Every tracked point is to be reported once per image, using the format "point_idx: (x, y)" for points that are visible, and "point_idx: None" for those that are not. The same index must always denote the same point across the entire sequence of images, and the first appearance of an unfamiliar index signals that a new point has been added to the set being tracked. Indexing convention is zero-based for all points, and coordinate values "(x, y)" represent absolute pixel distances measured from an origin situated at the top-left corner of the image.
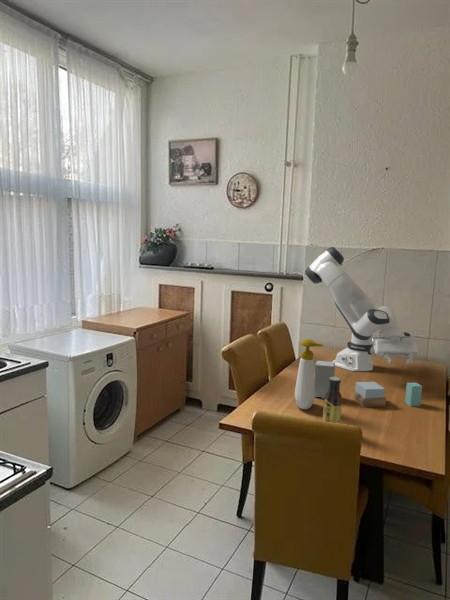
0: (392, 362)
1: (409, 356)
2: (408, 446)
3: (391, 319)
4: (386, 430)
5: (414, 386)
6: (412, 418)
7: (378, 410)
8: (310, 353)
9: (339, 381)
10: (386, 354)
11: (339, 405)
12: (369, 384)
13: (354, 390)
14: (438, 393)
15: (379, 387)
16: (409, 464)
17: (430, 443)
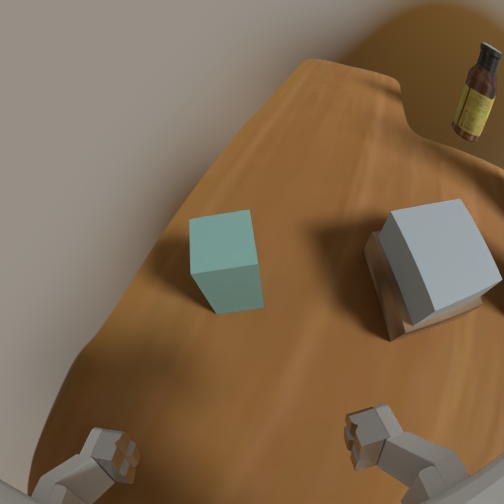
0: (348, 415)
1: (79, 501)
2: (335, 86)
3: None
4: (371, 121)
5: (236, 212)
6: (290, 171)
7: (389, 213)
8: None
9: (481, 43)
10: (449, 466)
11: (466, 81)
12: (456, 259)
13: (481, 300)
14: (68, 414)
15: (415, 224)
16: (342, 65)
17: (291, 92)
